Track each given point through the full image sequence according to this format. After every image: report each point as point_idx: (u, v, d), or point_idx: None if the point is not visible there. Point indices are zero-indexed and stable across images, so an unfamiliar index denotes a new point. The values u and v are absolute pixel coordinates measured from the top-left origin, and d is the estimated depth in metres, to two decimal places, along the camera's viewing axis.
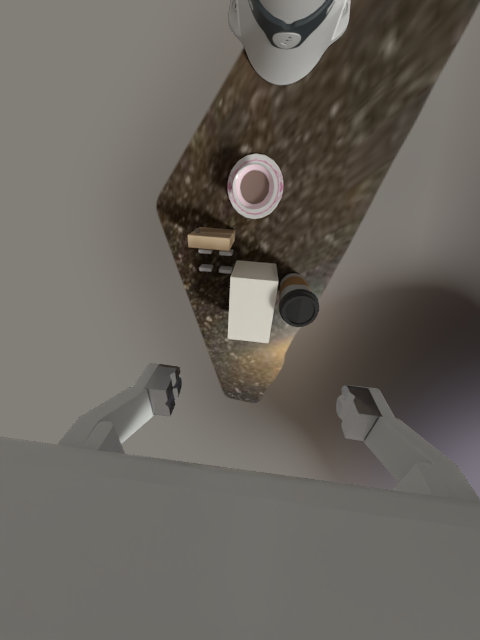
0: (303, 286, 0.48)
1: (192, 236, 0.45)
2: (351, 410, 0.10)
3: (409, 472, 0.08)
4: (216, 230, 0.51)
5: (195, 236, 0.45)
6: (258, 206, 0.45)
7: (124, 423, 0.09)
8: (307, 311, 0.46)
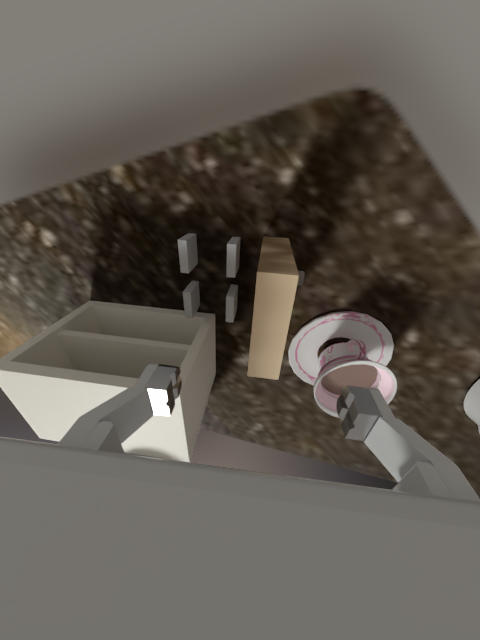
0: None
1: (292, 291, 0.13)
2: (351, 410, 0.10)
3: (409, 472, 0.08)
4: None
5: (291, 299, 0.14)
6: (317, 389, 0.24)
7: (124, 423, 0.09)
8: None
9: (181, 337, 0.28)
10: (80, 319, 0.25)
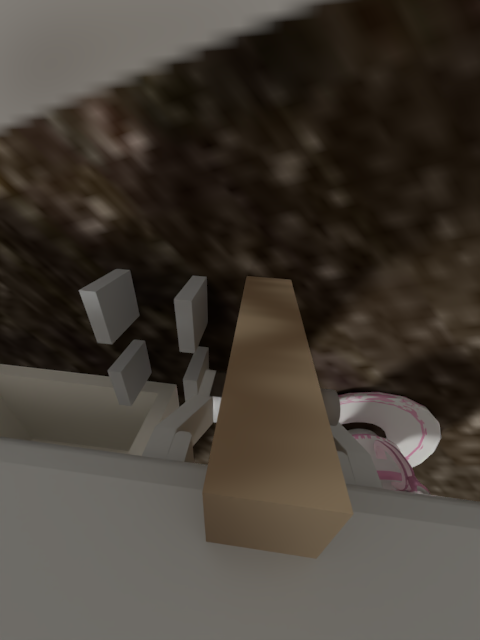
0: None
1: (324, 534, 0.04)
2: None
3: None
4: None
5: None
6: None
7: (192, 432, 0.09)
8: None
9: (127, 416, 0.18)
10: None
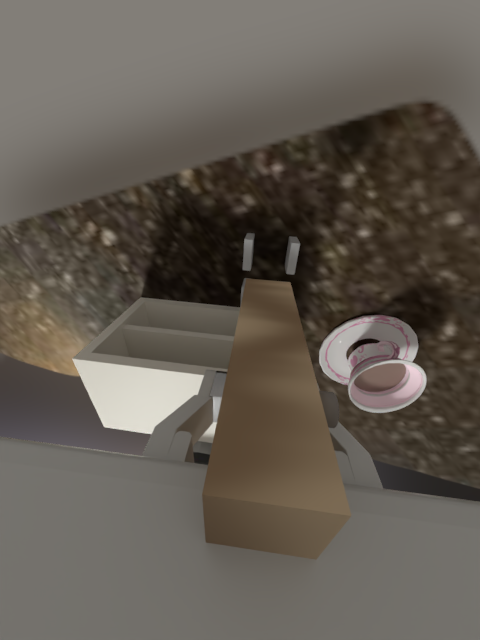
0: None
1: (322, 536, 0.04)
2: None
3: None
4: None
5: (316, 541, 0.04)
6: (350, 385, 0.26)
7: (192, 432, 0.09)
8: None
9: (228, 332, 0.29)
10: (136, 315, 0.27)
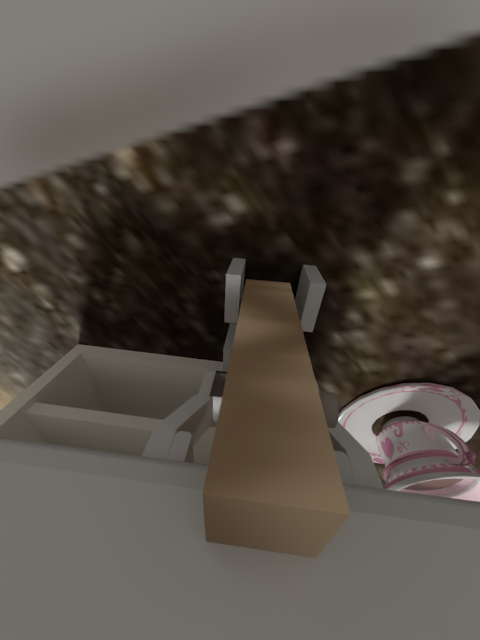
0: None
1: (322, 535, 0.04)
2: None
3: None
4: None
5: (315, 541, 0.04)
6: None
7: (192, 432, 0.09)
8: None
9: None
10: (63, 378, 0.17)
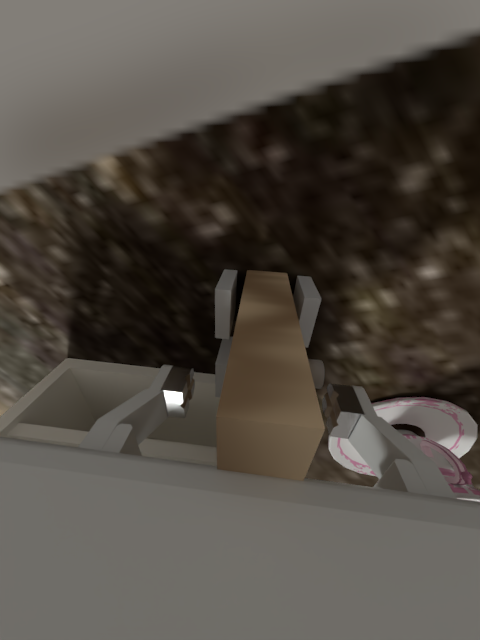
0: None
1: (306, 452, 0.05)
2: (334, 408, 0.10)
3: (388, 469, 0.08)
4: None
5: (302, 462, 0.06)
6: None
7: (141, 425, 0.09)
8: None
9: (202, 409, 0.19)
10: (50, 395, 0.17)
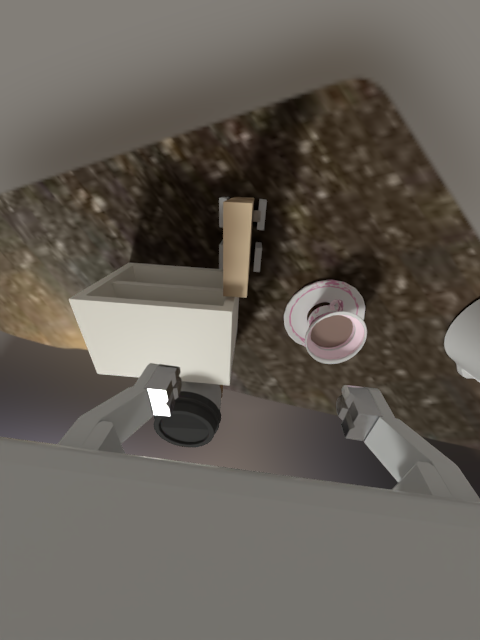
0: None
1: (249, 216, 0.19)
2: (351, 410, 0.10)
3: (409, 472, 0.08)
4: None
5: (249, 224, 0.19)
6: (307, 340, 0.31)
7: (124, 423, 0.09)
8: (186, 435, 0.28)
9: None
10: (125, 275, 0.29)
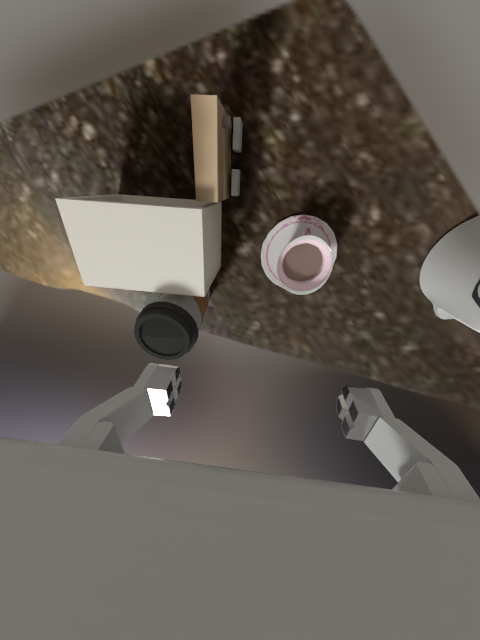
0: (200, 325, 0.33)
1: (214, 110, 0.20)
2: (351, 410, 0.10)
3: (409, 472, 0.08)
4: (227, 163, 0.28)
5: (215, 118, 0.21)
6: (279, 270, 0.32)
7: (124, 423, 0.09)
8: (165, 346, 0.30)
9: None
10: (113, 201, 0.32)
